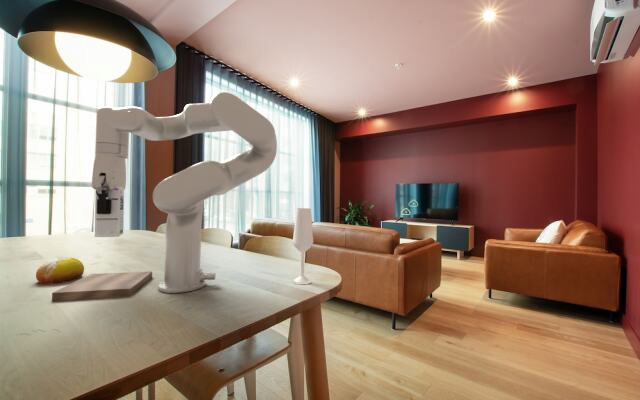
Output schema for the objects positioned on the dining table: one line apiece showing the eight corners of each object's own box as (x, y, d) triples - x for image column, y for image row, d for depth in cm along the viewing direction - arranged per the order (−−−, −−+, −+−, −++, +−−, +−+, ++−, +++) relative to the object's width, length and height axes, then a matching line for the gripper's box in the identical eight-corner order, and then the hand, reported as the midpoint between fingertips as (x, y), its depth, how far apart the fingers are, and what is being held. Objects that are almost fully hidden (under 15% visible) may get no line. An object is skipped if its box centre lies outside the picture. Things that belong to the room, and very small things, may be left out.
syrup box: (119, 236, 78) (121, 186, 78) (93, 237, 75) (95, 184, 75) (123, 234, 83) (124, 186, 83) (98, 234, 80) (100, 185, 80)
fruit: (66, 272, 93) (73, 250, 92) (88, 284, 90) (94, 261, 90) (23, 280, 82) (30, 255, 82) (46, 294, 79) (54, 268, 79)
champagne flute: (287, 282, 88) (289, 208, 88) (299, 277, 94) (301, 208, 94) (304, 286, 85) (306, 208, 85) (316, 281, 90) (317, 208, 91)
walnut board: (152, 277, 90) (152, 271, 90) (130, 296, 73) (130, 288, 73) (90, 280, 86) (91, 273, 86) (51, 300, 68) (52, 292, 68)
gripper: (111, 155, 87) (109, 211, 87) (79, 144, 70) (76, 214, 70) (138, 157, 89) (136, 212, 89) (113, 147, 72) (111, 215, 72)
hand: (110, 212), depth 79 cm, fingers closed on syrup box, 6 cm apart
